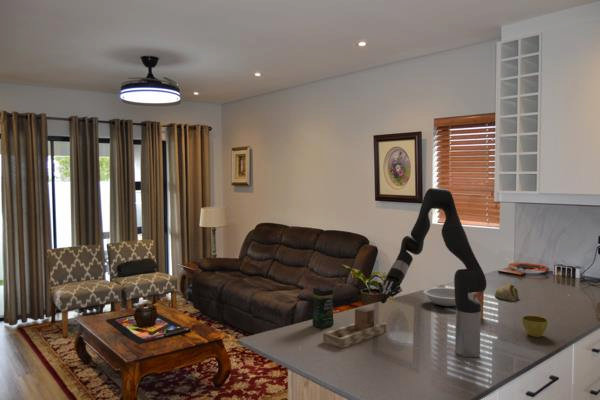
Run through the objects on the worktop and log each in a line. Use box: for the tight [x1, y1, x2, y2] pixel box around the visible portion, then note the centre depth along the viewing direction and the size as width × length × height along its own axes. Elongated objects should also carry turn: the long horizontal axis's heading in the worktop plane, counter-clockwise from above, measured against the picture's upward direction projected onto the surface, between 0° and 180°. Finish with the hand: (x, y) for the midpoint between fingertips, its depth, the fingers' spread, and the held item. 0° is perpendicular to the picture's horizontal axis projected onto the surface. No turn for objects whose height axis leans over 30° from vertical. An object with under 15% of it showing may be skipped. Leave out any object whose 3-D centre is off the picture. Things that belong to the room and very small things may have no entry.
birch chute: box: [322, 322, 387, 349], centre depth 204 cm, size 30×10×4 cm, turn 133°
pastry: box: [494, 284, 520, 302], centre depth 268 cm, size 14×12×8 cm
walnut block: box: [354, 306, 375, 332], centre depth 208 cm, size 6×6×10 cm
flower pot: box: [521, 315, 549, 338], centre depth 205 cm, size 10×10×7 cm
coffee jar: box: [312, 284, 335, 329], centre depth 219 cm, size 10×8×19 cm
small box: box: [468, 290, 485, 318], centre depth 232 cm, size 8×6×13 cm
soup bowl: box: [423, 287, 456, 307], centre depth 254 cm, size 24×24×7 cm
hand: (381, 302), depth 216 cm, fingers closed
